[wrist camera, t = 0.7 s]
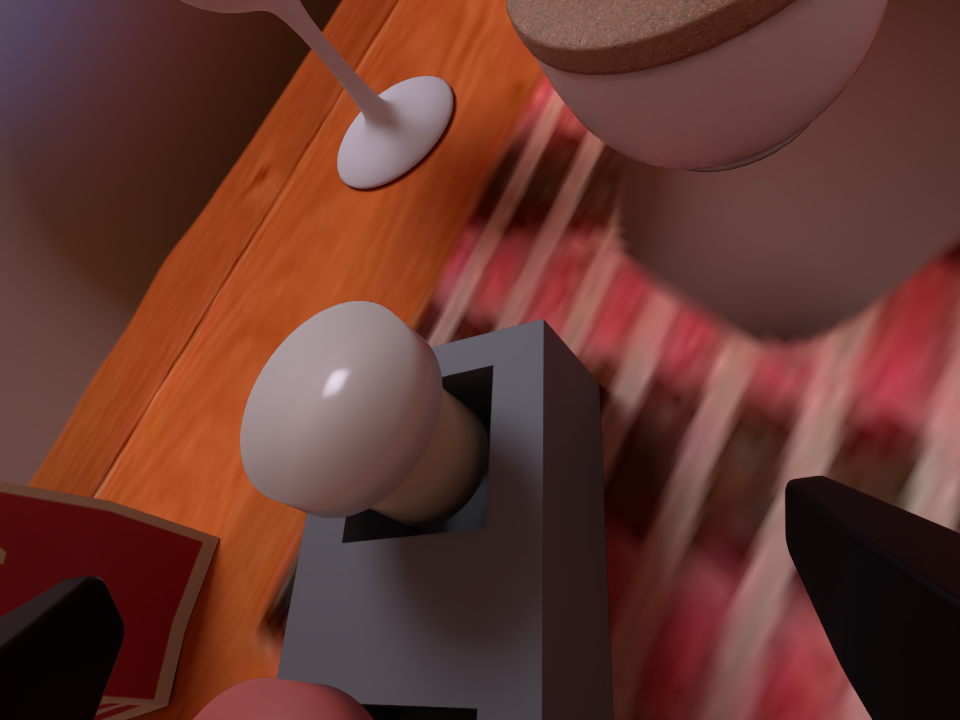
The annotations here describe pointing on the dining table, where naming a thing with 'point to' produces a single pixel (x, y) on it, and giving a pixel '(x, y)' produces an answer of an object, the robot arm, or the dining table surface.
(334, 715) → the knob mid
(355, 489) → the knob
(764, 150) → the lidded bowl
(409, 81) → the wineglass
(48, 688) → the robot arm
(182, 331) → the dining table surface
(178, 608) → the milk carton
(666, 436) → the dining table surface
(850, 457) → the dining table surface
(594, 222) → the dining table surface
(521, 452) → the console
